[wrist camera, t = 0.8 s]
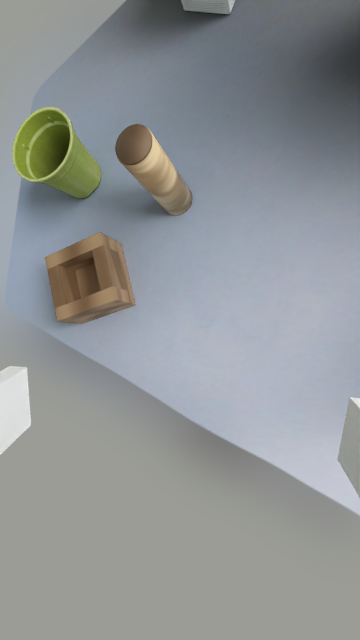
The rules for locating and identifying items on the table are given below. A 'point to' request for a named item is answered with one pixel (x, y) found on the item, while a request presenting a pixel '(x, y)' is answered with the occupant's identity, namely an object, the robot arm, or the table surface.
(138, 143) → the dowel
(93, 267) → the socket block
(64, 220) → the table surface
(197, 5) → the supplement box
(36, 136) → the plant pot
